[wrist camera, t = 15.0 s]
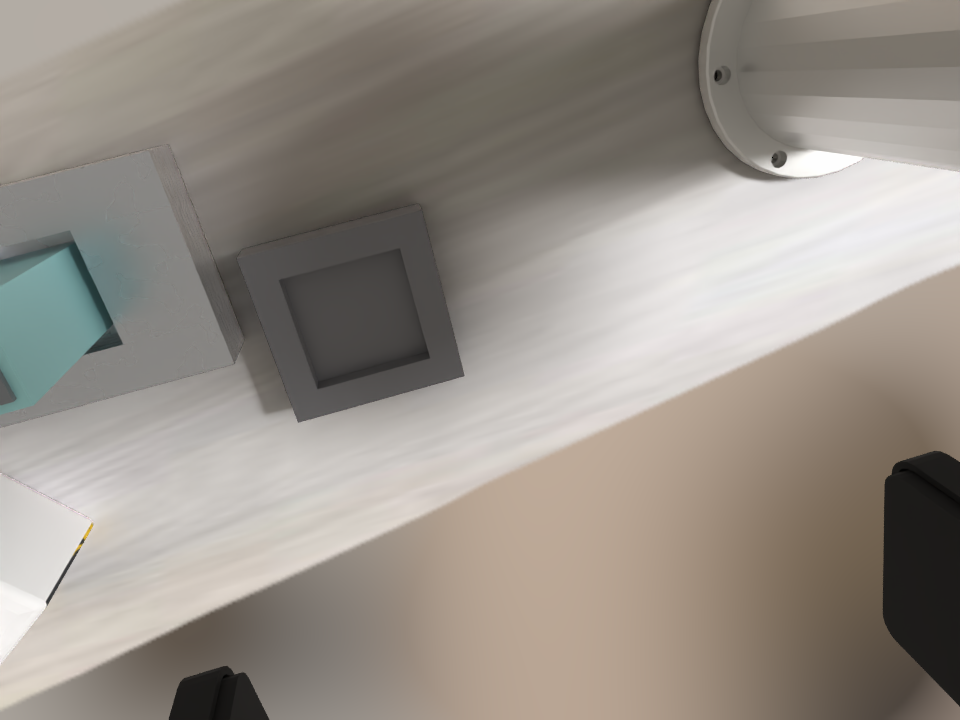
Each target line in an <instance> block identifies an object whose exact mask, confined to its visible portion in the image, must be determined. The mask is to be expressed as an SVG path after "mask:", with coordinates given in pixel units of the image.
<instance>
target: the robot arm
mask: <svg viewBox="0 0 960 720" xmlns="http://www.w3.org/2000/svg"><path fill="white" fill-rule="evenodd" d="M698 64H699V86H700V90H701V95H702V99H703V104H704V108H705V111H706V113H707V115H708V118H709V120H710V122H711V125H712V127H713V129H714V131H715V132H716V134H717V135H718V137H719V138H720V139H721V141H722V142H723V144H724V145H725V146H726V148H727V149H729V150H730V151H731V152H732V153H733V154H734V155H735V156H736V157H737V158H739V159H740V160H741V161H742V162H744V163H746V164H748V165H749V166H751V167H753V168H755V169H757V170H759V171H762V172H765V173H769V174H772V175H776V176H782V177H788V178H794V179H802V178H817V177H821V176H825V175H828V174H832V173H836V172H839V171H841V170H843V169H845V168H847V167H849V166H851V165H853V164H856V163H858V162H859V161H861V160H862V159H863V158H870V159H877V160H884V161H890V162H897V163H904V164H910V165H917V166H924V167H930V168H937V169H944V170H950V171H957V172H960V0H712V2H711V4H710V6H709V9H708V12H707V16H706V20H705V23H704V27H703V30H702V34H701V42H700V50H699V59H698ZM715 71H717V73H718V77H717V79H716V80H714V74H715ZM772 156H773V159H772ZM771 159H772V161H771ZM884 499H885V500H884V566H883V567H884V568H883V618H884V621H885V624H886V626H887V628H888V630H889V632H890V634H891V635H892V637H893V638H894V639H895V640H896V641H897V642H898V643H899V644H900V646H901V647H903V649H905V650H906V652H907V653H908V654H909V655H910V656H911V657H912V658H913V659H914V660H915V661H916V662H917V663H918V664H919V665H920V666H921V667H922V668H923V669H924V670H925V671H926V672H927V673H928V674H929V675H930V676H931V677H932V678H933V679H934V680H935V681H936V682H937V683H938V684H939V686H940V687H942V688H943V690H944V691H945V692H946V693H947V694H948V695H949V696H950V697H951V698H952V699H953V700H954V701H955V702H956V703H957V704H958V705H959V706H960V462H959V461H957V460H956V459H954V458H952V457H951V456H949V455H947V454H945V453H943V452H940V451H933V452H930V453H927V454H923V455H920V456H916V457H913V458H910V459H907V460H903V461H900V462H898V463H896V464H895V465H894V467H893V469H892V475H890V476H888V477H887V479H886V480H885V497H884ZM169 720H269V718H268V716H267V714H266V712H265V710H264V708H263V706H262V704H261V702H260V700H259V698H258V696H257V694H256V692H255V690H254V688H253V686H252V684H251V682H250V680H249V678H248V676H247V675H246V674H245V673H239V674H235V675H234V673H233V671H232V670H231V669H230V668H229V667H228V666H223V667H220V668H216V669H213V670H210V671H206V672H203V673H200V674H197V675H193V676H190V677H187V678H184V679H183V680H182V681H181V682H180V684H179V686H178V689H177V692H176V695H175V699H174V703H173V706H172V709H171V713H170V716H169Z"/></svg>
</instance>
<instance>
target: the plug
mask: <svg viewBox="0 0 960 720" xmlns="http://www.w3.org/2000/svg"><path fill="white" fill-rule="evenodd" d="M113 324H114V323H113V321H112V319H111V317H110V315H109V313H108V311H107V309H106V306H105V304H104V302H103V300H102V298H101V296H100V294H99V291H98V289H97V287H96V285H95V283H94V281H93V279H92V276H91V274H90V272H89V270H88V268H87V266H86V264H85V262H84V259H83V257H82V255H81V253H80V251H79V249H78V247H77V244H76V242H75V240H74V241H71V242H67V243H63V244H59V245H56V246H52V247H48V248H44V249H40V250H37V251H33V252H29V253H25V254H22V255H18V256H14V257H10V258H6V259H3V260H0V415H1V414H5V413H9V412H12V411H16V410H19V409H23V408H26V407H30V406H34V405H35V404H36V403H37V402H38V401H39V400H40V399H41V398H42V397H43V396H44V395H45V394H46V393H47V392H48V390H49V389H50V388H51V387H52V386H53V385H54V384H55V383H56V382H57V381H58V380H59V379H60V378H61V377H62V376H63V375H64V374H65V373H66V372H67V371H68V370H69V369H70V368H71V367H72V366H73V365H74V364H75V363H76V362H77V361H78V360H79V359H80V358H81V357H82V356H83V355H84V354H85V353H86V352H87V351H88V350H89V348H90V347H91V346H92V345H93V344H94V343H95V342H96V341H97V340H98V339H99V338H100V337H101V336H102V335H103V334H104V333H105V332H106V331H107V330H108V329H109V328H110V327H111V326H112V325H113Z"/></svg>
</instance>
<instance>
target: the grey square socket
mask: <svg viewBox="0 0 960 720" xmlns="http://www.w3.org/2000/svg"><path fill="white" fill-rule="evenodd" d="M236 259H237V261H238V264H239V267H240V269H241V272H242V275H243V277H244V280H245V283H246V285H247V288H248V290H249V293H250V296H251V298H252V301H253V304H254V306H255V309H256V312H257V314H258V317H259V320H260V322H261V325H262V328H263V330H264V333H265V336H266V338H267V341H268V344H269V346H270V349H271V352H272V354H273V357H274V360H275V362H276V365H277V368H278V370H279V373H280V376H281V378H282V381H283V384H284V386H285V389H286V391H287V394H288V397H289V399H290V402H291V405H292V407H293V410H294V413H295V415H296V418H297V421H298V422H302V421H306V420H309V419H313V418H316V417H320V416H324V415H327V414H331V413H334V412H338V411H341V410H345V409H349V408H352V407H356V406H359V405H363V404H366V403H370V402H374V401H377V400H381V399H384V398H388V397H391V396H395V395H399V394H402V393H406V392H409V391H413V390H417V389H420V388H424V387H427V386H431V385H434V384H438V383H442V382H445V381H449V380H452V379H456V378H459V377H463V376H464V372H463V368H462V364H461V360H460V356H459V352H458V348H457V345H456V341H455V337H454V333H453V329H452V325H451V321H450V317H449V313H448V310H447V306H446V302H445V298H444V294H443V290H442V286H441V282H440V279H439V275H438V271H437V267H436V263H435V259H434V255H433V251H432V247H431V244H430V240H429V236H428V232H427V228H426V224H425V220H424V216H423V212H422V209H421V208H420V206H419V204H414V205H410V206H406V207H402V208H399V209H395V210H391V211H387V212H383V213H379V214H375V215H372V216H368V217H364V218H360V219H356V220H352V221H349V222H345V223H341V224H337V225H333V226H329V227H325V228H322V229H318V230H314V231H310V232H306V233H302V234H299V235H295V236H291V237H287V238H283V239H279V240H275V241H272V242H268V243H264V244H260V245H256V246H252V247H248V248H245V249H242V251H241V252H240V254H239V255H238V257H237V258H236Z"/></svg>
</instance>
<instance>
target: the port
mask: <svg viewBox="0 0 960 720" xmlns="http://www.w3.org/2000/svg"><path fill="white" fill-rule="evenodd" d="M74 240H75V242H76V244H77V247H78V249H79V251H80V253H81V255H82V257H83V259H84V262H85V264H86V266H87V268H88V270H89V272H90V274H91V276H92V279H93V281H94V283H95V285H96V287H97V289H98V291H99V294H100V296H101V298H102V300H103V302H104V304H105V306H106V309H107V311H108V313H109V315H110V317H111V319H112V321H113V323H114V324H113V325H112V326H111V327H110V328H109V329H108V330H107V331H106V332H105V333H104V334H103V335H102V336H101V337H100V338H99V339H98V340H97V341H96V342H95V343H94V344H93V345H92V346H91V347H90V348H89V350H88V351H87V352H86V353H85V354H84V355H83V356H82V357H81V358H80V359H79V360H78V361H77V362H76V363H75V364H74V365H73V366H72V367H71V368H70V369H69V370H68V371H67V372H66V373H65V374H64V375H63V376H62V377H61V378H60V379H59V380H58V381H57V382H56V383H55V384H54V385H53V386H52V387H51V388H50V389H49V390H48V392H47V393H46V394H45V395H44V396H43V397H42V398H41V399H40V400H39V401H38V402H37V403H36V404H35V405H34V406H30V407H26V408H23V409H19V410H16V411H12V412H9V413H5V414H1V415H0V428H1V427H5V426H8V425H12V424H16V423H20V422H23V421H27V420H31V419H34V418H38V417H42V416H45V415H49V414H53V413H56V412H60V411H64V410H67V409H71V408H75V407H78V406H82V405H86V404H89V403H93V402H97V401H101V400H104V399H108V398H112V397H115V396H119V395H123V394H126V393H130V392H134V391H137V390H141V389H145V388H148V387H152V386H156V385H159V384H163V383H167V382H170V381H174V380H178V379H182V378H185V377H189V376H193V375H196V374H200V373H204V372H207V371H211V370H215V369H218V368H222V367H226V366H229V365H233V364H235V361H236V359H237V357H238V354H239V352H240V349H241V347H242V344H243V342H244V340H245V339H244V336H243V334H242V331H241V328H240V326H239V323H238V321H237V318H236V316H235V313H234V311H233V308H232V305H231V303H230V300H229V298H228V295H227V293H226V290H225V287H224V285H223V282H222V280H221V277H220V275H219V272H218V270H217V267H216V264H215V262H214V259H213V257H212V254H211V252H210V249H209V246H208V244H207V241H206V239H205V236H204V234H203V231H202V228H201V226H200V223H199V221H198V218H197V216H196V213H195V211H194V208H193V205H192V203H191V200H190V198H189V195H188V193H187V190H186V187H185V185H184V182H183V180H182V177H181V175H180V172H179V170H178V167H177V164H176V162H175V159H174V157H173V154H172V152H171V149H170V146H169V144H166V145H162V146H158V147H154V148H150V149H146V150H142V151H138V152H134V153H129V154H125V155H121V156H117V157H113V158H109V159H105V160H101V161H97V162H93V163H89V164H85V165H81V166H77V167H73V168H69V169H65V170H61V171H57V172H53V173H48V174H44V175H40V176H36V177H32V178H28V179H24V180H20V181H16V182H12V183H8V184H4V185H0V260H3V259H6V258H10V257H14V256H18V255H22V254H25V253H29V252H33V251H37V250H40V249H44V248H48V247H52V246H56V245H59V244H63V243H67V242H71V241H74Z"/></svg>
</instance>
